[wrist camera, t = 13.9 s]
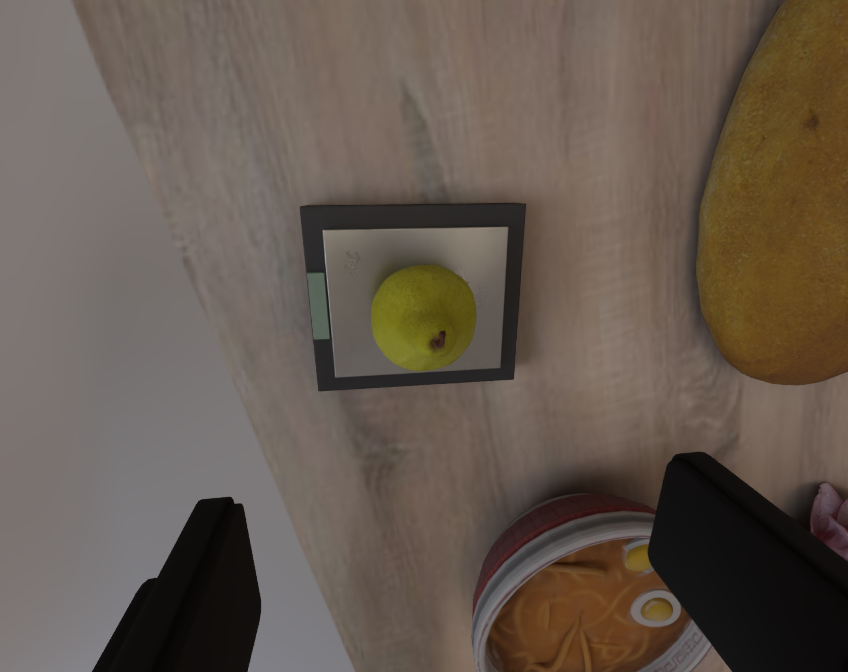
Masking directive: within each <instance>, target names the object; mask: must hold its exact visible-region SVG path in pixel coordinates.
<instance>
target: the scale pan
mask: <svg viewBox="0 0 848 672" xmlns="http://www.w3.org/2000/svg"><path fill="white" fill-rule="evenodd" d="M323 241H324V252H325V264H326V275H327V287H328V299H329V310H330V322H331V333H332V345H333V356H334V368H335V377H336V378H337V377H354V376H372V375H389V374H406V373H423V372H441V371H458V370H475V369H493V368H500V365H501V348H502V330H503V313H504V295H505V278H506V260H507V243H508V226H459V227H404V228H350V229H324V230H323ZM427 264H428V265H439V266H442V267H445V268H447V269H450V270H451V271H453V272H454V273H456V274H457V275H459V276H460V277H461V278H462V279H464V280H465V281H466V282H467V283H468V285H469V287H470V289H471V291H472V293H473V296H474V300H475V304H476V314H477V315H476V325H475V330H474V335H473V339H472V341H471V343H470V345H469V346H468V348H467V349H466V350H465V351H464V353H463V354H462V355H461V356H460V357H459V358H458V359H457V360H456V361H454V362H453V363H452V364H450V365H448V366H445V367H443V368H440V369H435V370H429V371H422V372H420V371H412V370H408V369H405V368H403V367H401V366H398V365H396V364H394V363H393V362H392V361H390V360H389V359H388V358H387V357H386V356H385V355H384V354H383V352H382V351H381V350H380V348H379V347H378V345H377V343H376V341H375V339H374V336H373V332H372V326H371V307H372V301H373V299H374V297H375V295H376V293H377V291H378V289H379V288H380V286H381V285H382V283H383V282H384V281H385V280H386V279H387V277H389V276H390V275H392V274H393V273H395V272H396V271H399V270H401V269H404V268H407V267H411V266H416V265H427Z"/></svg>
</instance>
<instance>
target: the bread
mask: <svg viewBox="0 0 848 672" xmlns="http://www.w3.org/2000/svg"><path fill="white" fill-rule="evenodd" d="M696 278H697V284H698V291H699V301H700V309H701V312H702V315H703V317H704V319H705V321H706V323H707V325H708V326H709V331H710V333H711V335H712V337H713V339H714V341H715V343H716V346H717V347H718V349H719V350H720V352H721V354H722V355H723V357H724V358H725V359H726V360H727V361H728V362H729V364H731V365H732V366H733V367H735V368H736V369H737V370H739V371H740V372H741V373H742V374H745V375H747V376H749V377H751V378H754V379H758V380H761V381H765V382H768V383H772V384H781V385H805V384H811V383H817V382H821V381H824V380H827V379H830V378H833V377H835V376H838V375H840V374H843V373H845V372H848V0H783V2H782V3H781V5H780V7H779V8H778V10H777V12H776V13H775V15H774V17H773V18H772V20H771V22H770V24H769V25H768V27H767V29H766V31H765V32H764V34H763V36H762V38H761V40H760V42H759V44H758V46H757V47H756V49H755V51H754V53H753V55H752V57H751V59H750V61H749V63H748V65H747V67H746V69H745V71H744V73H743V76H742V78H741V81H740V84H739V86H738V89H737V92H736V94H735V97H734V99H733V102H732V104H731V107H730V109H729V112H728V115H727V117H726V120H725V123H724V126H723V128H722V131H721V134H720V137H719V140H718V143H717V147H716V150H715V153H714V157H713V160H712V163H711V167H710V171H709V175H708V179H707V182H706V186H705V189H704V193H703V197H702V201H701V205H700V212H699V237H698V250H697V258H696Z"/></svg>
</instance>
